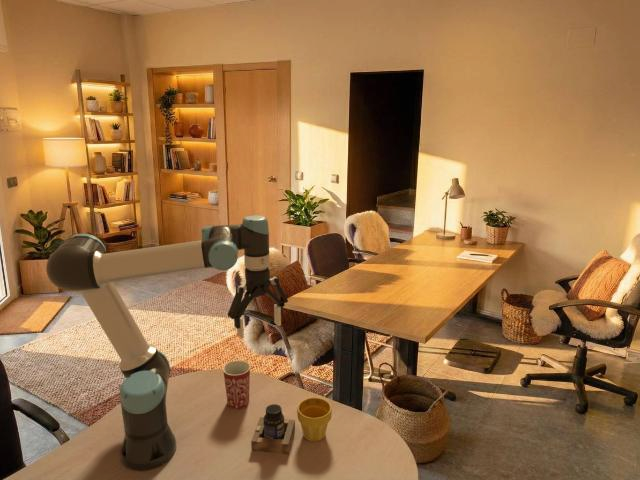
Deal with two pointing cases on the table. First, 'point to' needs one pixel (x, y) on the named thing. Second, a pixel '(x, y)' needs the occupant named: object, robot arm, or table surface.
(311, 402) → the plant pot
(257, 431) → the wooden tray
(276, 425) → the pill bottle
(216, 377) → the table surface
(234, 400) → the mug
